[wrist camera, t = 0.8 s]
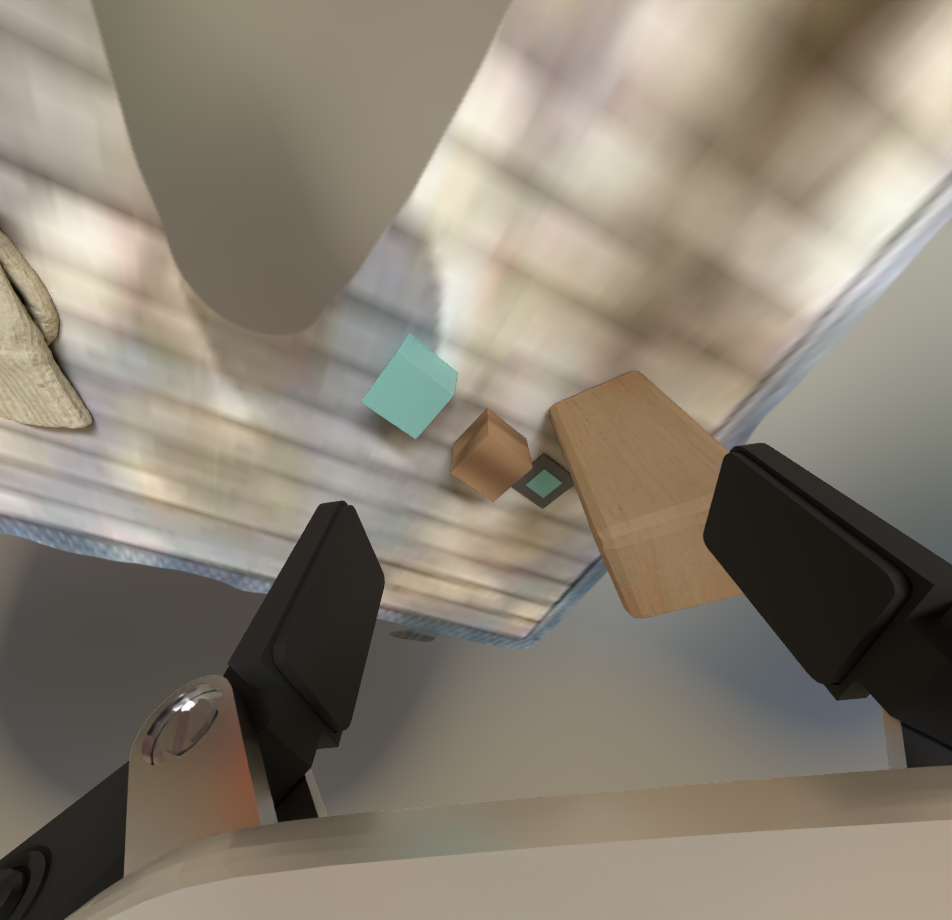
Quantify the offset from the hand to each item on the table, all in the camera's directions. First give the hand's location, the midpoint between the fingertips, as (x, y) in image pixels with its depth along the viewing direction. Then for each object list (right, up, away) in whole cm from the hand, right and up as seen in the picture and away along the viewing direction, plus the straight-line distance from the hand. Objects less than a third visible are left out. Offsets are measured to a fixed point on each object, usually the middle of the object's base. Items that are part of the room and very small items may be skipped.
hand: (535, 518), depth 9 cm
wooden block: (+13, +6, +30) cm, 33 cm away
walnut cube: (0, +4, +31) cm, 31 cm away
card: (+7, -1, +34) cm, 35 cm away
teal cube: (-8, +10, +27) cm, 30 cm away
